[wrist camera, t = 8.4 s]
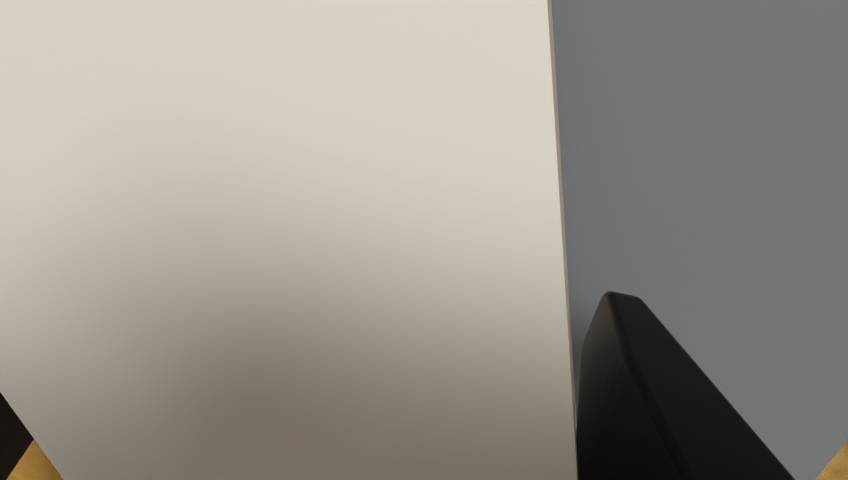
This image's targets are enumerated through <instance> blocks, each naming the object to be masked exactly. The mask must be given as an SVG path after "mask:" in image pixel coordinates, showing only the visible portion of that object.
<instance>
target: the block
mask: <svg viewBox="0 0 848 480" xmlns="http://www.w3.org/2000/svg"><path fill="white" fill-rule="evenodd" d="M0 392H1V394H2V395H3V397H4V398H5V399H6V401H7V402H8V404H9V405H10V406H11V408H12V409H13V410H14V412H15V413H16V415H17V416H18V417H19V419H20V420H21V422H22V423H23V424H24V426H25V427H26V428H27V430H28V431H29V433H30V434H31V435H32V437H33V438H34V439H35V441H36V442H37V444H38V445H39V446H40V448H41V449H42V451H43V452H44V453H45V455H46V456H47V457H48V459H49V460H50V462H51V463H52V464H53V466H54V467H55V469H56V470H57V471H58V473H59V474H60V475H61V477H62V478H63V480H578V462H577V443H576V430H577V424H576V407H575V390H574V374H573V357H572V340H571V323H570V306H569V289H568V272H567V255H566V238H565V221H564V204H563V187H562V170H561V153H560V137H559V120H558V103H557V86H556V69H555V52H554V35H553V18H552V1H551V0H0Z"/></svg>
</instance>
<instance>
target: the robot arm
mask: <svg viewBox="0 0 848 480" xmlns="http://www.w3.org/2000/svg"><path fill="white" fill-rule="evenodd" d="M33 439H34V438H33V437H32V435H31V434H30V433H29V431H28V430H27V428H26V427H25V426H24V424H23V423H22V422H21V420H20V419H19V417H18V416H17V415H16V413H15V412H14V410H13V409H12V408H11V406H10V405H9V404H8V402H7V401H6V399H5V398H4V397H3V395H2V394H1V392H0V480H6V479H7V478H8V476H9V475H10V473H11V472H12V470H13V469H14V467H15V466H16V464H17V463H18V461H19V460H20V459H21V457H22V456H23V454H24V453H25V451H26V450H27V448H28V447H29V445H30V444H31V442H32V441H33ZM576 443H577V462H578V480H795V479H794V477H793V476H792V475H791V474H790V473H789V472H788V470H787V469H786V468H785V467H784V466H783V465H782V463H781V462H780V461H779V460H778V459H777V457H776V456H775V455H774V454H773V453H772V452H771V450H770V449H769V448H768V447H767V446H766V445H765V443H764V442H763V441H762V440H761V439H760V437H759V436H758V435H757V434H756V433H755V432H754V430H753V429H752V428H751V427H750V426H749V425H748V423H747V422H746V421H745V420H744V419H743V418H742V416H741V415H740V414H739V413H738V412H737V410H736V409H735V408H734V407H733V406H732V405H731V403H730V402H729V401H728V400H727V399H726V398H725V396H724V395H723V394H722V393H721V392H720V391H719V389H718V388H717V387H716V386H715V385H714V383H713V382H712V381H711V380H710V379H709V378H708V376H707V375H706V374H705V373H704V372H703V371H702V369H701V368H700V367H699V366H698V365H697V364H696V362H695V361H694V360H693V359H692V358H691V356H690V355H689V354H688V353H687V352H686V351H685V349H684V348H683V347H682V346H681V345H680V344H679V342H678V341H677V340H676V339H675V338H674V337H673V335H672V334H671V333H670V332H669V331H668V329H667V328H666V327H665V326H664V325H663V324H662V322H661V321H660V320H659V319H658V318H657V317H656V315H655V314H654V313H653V312H652V311H651V310H650V308H649V307H648V306H647V305H646V304H645V302H644V301H643V300H642V299H640V298H639V297H637V296H633V295H628V294H624V293H619V292H614V291H608V292H606V293H605V294H604V295H603V296H602V298H601V300H600V302H599V304H598V307H597V309H596V312H595V314H594V316H593V319H592V321H591V324H590V326H589V329H588V331H587V334H586V336H585V339H584V342H583V346H582V351H581V361H580V378H579V396H578V413H577V430H576Z"/></svg>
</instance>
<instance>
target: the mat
mask: <svg viewBox="0 0 848 480" xmlns="http://www.w3.org/2000/svg"><path fill="white" fill-rule="evenodd" d="M551 1H552V18H553V35H554V52H555V69H556V86H557V103H558V120H559V137H560V153H561V170H562V187H563V204H564V221H565V238H566V255H567V272H568V289H569V306H570V323H571V340H572V357H573V374H574V390H575V407H576V424H577V413H578V396H579V378H580V361H581V351H582V346H583V342H584V339H585V336H586V334H587V331H588V329H589V326H590V324H591V321H592V319H593V316H594V314H595V312H596V309H597V307H598V304H599V302H600V300H601V298H602V296H603V295H604V294H605V293H606V292H608V291H614V292H619V293H624V294H628V295H633V296H637V297H639V298H640V299H642V300H643V301H644V302H645V304H646V305H647V306H648V307H649V308H650V310H651V311H652V312H653V313H654V314H655V315H656V317H657V318H658V319H659V320H660V321H661V322H662V324H663V325H664V326H665V327H666V328H667V329H668V331H669V332H670V333H671V334H672V335H673V337H674V338H675V339H676V340H677V341H678V342H679V344H680V345H681V346H682V347H683V348H684V349H685V351H686V352H687V353H688V354H689V355H690V356H691V358H692V359H693V360H694V361H695V362H696V364H697V365H698V366H699V367H700V368H701V369H702V371H703V372H704V373H705V374H706V375H707V376H708V378H709V379H710V380H711V381H712V382H713V383H714V385H715V386H716V387H717V388H718V389H719V391H720V392H721V393H722V394H723V395H724V396H725V398H726V399H727V400H728V401H729V402H730V403H731V405H732V406H733V407H734V408H735V409H736V410H737V412H738V413H739V414H740V415H741V416H742V418H743V419H744V420H745V421H746V422H747V423H748V425H749V426H750V427H751V428H752V429H753V430H754V432H755V433H756V434H757V435H758V436H759V437H760V439H761V440H762V441H763V442H764V443H765V445H766V446H767V447H768V448H769V449H770V450H771V452H772V453H773V454H774V455H775V456H776V457H777V459H778V460H779V461H780V462H781V463H782V465H783V466H784V467H785V468H786V469H787V470H788V472H789V473H790V474H791V475H792V476H793V477H794V479H795V480H814V479H815V478H816V477H817V476H818V475H819V473H820V472H821V471H822V470H823V469H824V467H825V466H826V465H827V464H828V463H829V462H830V460H831V459H832V458H833V457H834V456H835V454H836V453H837V452H838V451H839V450H840V448H841V447H842V446H843V445H844V444H845V442H846V441H847V440H848V0H551Z"/></svg>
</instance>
